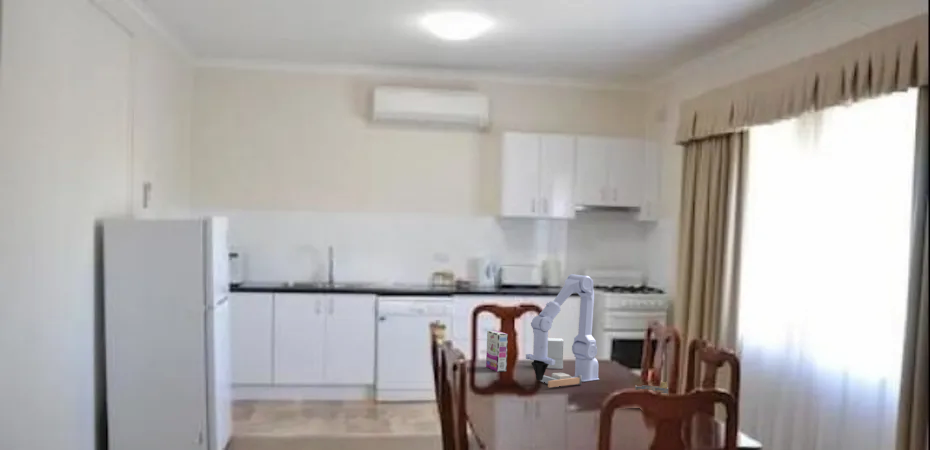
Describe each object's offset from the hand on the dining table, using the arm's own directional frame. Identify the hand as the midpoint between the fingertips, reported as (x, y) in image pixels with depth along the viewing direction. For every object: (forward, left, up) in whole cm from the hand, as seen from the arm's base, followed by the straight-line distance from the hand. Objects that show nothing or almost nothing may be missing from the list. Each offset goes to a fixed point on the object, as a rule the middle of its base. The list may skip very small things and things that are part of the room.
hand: (539, 379), depth 300 cm
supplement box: (-28, -25, -2) cm, 38 cm away
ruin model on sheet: (-15, +45, -3) cm, 48 cm away
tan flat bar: (-7, +8, -2) cm, 10 cm away
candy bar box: (-1, -32, -2) cm, 32 cm away
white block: (-9, +2, -2) cm, 10 cm away
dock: (-9, +1, -2) cm, 10 cm away
